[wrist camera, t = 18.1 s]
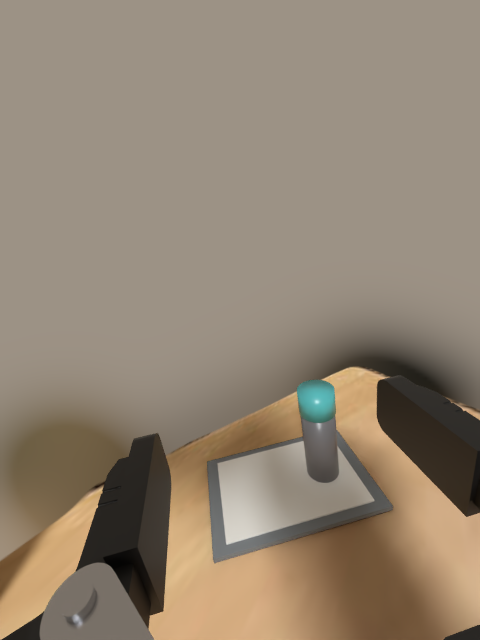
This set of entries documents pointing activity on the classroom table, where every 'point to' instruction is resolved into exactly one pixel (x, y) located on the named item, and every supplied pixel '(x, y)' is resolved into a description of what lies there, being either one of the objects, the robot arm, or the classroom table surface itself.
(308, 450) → the marker
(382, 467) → the classroom table surface
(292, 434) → the classroom table surface
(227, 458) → the mat
